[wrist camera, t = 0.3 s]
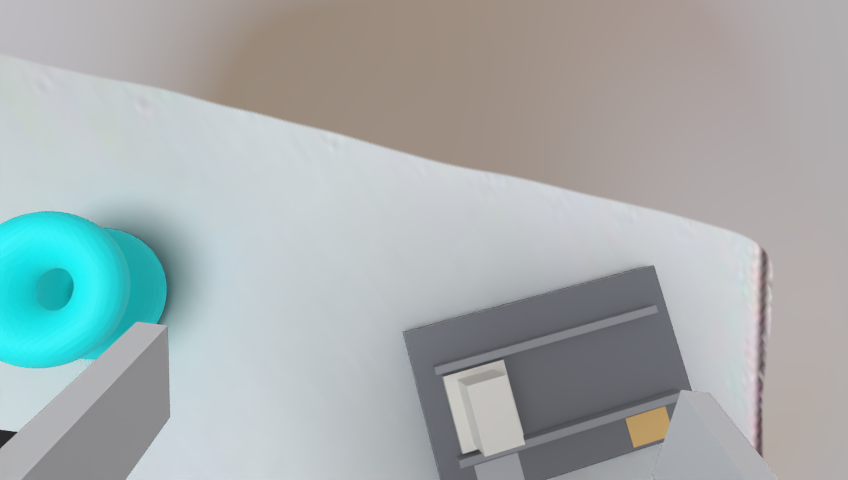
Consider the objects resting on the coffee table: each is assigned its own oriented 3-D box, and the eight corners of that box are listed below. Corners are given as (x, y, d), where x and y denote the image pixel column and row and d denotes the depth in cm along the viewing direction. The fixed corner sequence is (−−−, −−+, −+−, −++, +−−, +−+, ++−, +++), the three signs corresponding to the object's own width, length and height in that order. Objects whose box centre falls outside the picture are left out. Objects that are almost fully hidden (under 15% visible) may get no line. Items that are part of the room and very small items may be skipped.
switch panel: (689, 424, 48) (712, 432, 45) (445, 501, 45) (452, 516, 41) (641, 267, 49) (661, 264, 46) (402, 332, 46) (405, 333, 43)
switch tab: (521, 433, 44) (540, 447, 39) (461, 451, 43) (473, 468, 39) (500, 358, 45) (517, 364, 40) (441, 375, 44) (451, 383, 39)
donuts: (61, 177, 35) (150, 305, 35) (126, 207, 45) (196, 307, 44) (-91, 268, 33) (2, 404, 33) (12, 279, 43) (84, 383, 43)
